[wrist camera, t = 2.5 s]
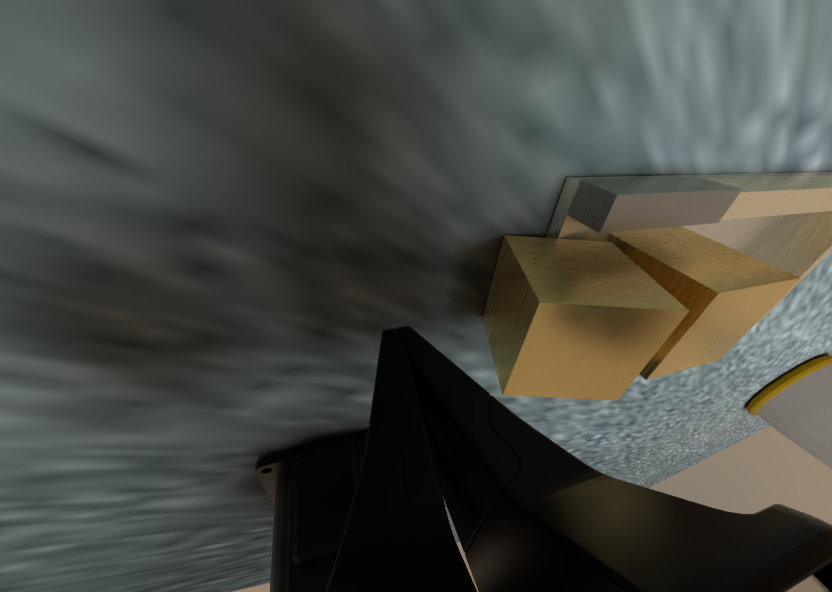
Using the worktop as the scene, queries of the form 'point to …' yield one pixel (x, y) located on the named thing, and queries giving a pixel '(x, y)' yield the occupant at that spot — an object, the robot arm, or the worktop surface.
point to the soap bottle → (801, 407)
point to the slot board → (709, 212)
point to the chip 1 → (573, 318)
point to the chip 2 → (703, 292)
